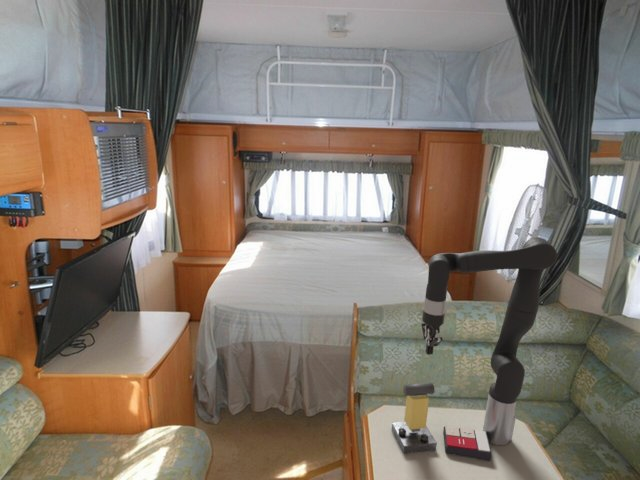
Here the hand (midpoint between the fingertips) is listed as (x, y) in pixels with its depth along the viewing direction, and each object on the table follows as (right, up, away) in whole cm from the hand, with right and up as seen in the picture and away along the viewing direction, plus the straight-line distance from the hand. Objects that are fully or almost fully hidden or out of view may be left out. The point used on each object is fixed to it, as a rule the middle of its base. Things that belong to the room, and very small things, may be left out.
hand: (429, 353), depth 155 cm
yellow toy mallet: (-6, -26, -3) cm, 27 cm away
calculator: (+12, -32, -4) cm, 35 cm away
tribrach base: (-6, -30, -2) cm, 31 cm away
